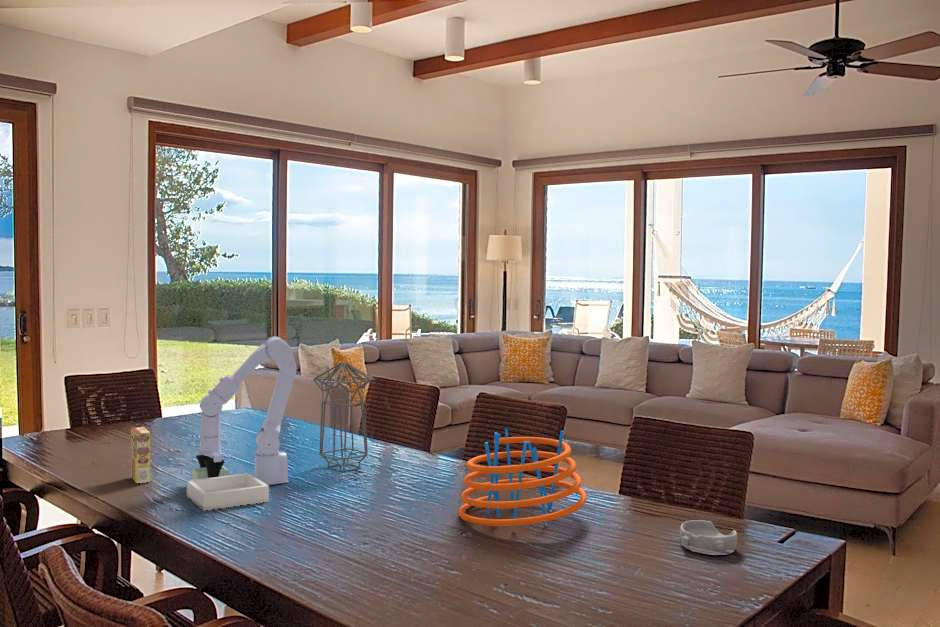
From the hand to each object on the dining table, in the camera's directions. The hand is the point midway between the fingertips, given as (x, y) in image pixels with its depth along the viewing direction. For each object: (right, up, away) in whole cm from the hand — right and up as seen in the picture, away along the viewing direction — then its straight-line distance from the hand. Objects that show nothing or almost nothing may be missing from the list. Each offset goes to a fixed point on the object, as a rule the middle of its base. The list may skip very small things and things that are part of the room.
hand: (209, 481), depth 242 cm
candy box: (-22, -1, +4) cm, 23 cm away
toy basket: (+91, -6, -22) cm, 94 cm away
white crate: (+9, -2, -13) cm, 16 cm away
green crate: (0, -1, 0) cm, 1 cm away
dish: (+135, -8, -42) cm, 142 cm away
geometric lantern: (+35, -1, +27) cm, 44 cm away
